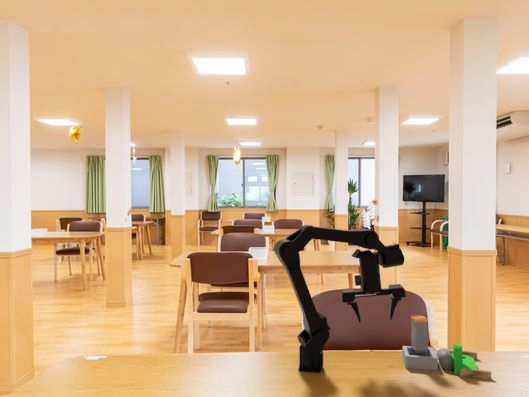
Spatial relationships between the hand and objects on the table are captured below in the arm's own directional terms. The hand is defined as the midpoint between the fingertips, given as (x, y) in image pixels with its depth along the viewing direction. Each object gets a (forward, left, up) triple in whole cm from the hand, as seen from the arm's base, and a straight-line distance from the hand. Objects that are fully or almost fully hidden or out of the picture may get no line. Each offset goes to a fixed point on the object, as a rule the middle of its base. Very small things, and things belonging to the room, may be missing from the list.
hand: (375, 320), depth 137 cm
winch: (+16, +2, -13) cm, 20 cm away
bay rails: (+27, +2, -13) cm, 30 cm away
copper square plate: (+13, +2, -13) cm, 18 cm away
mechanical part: (+26, +1, -13) cm, 29 cm away
